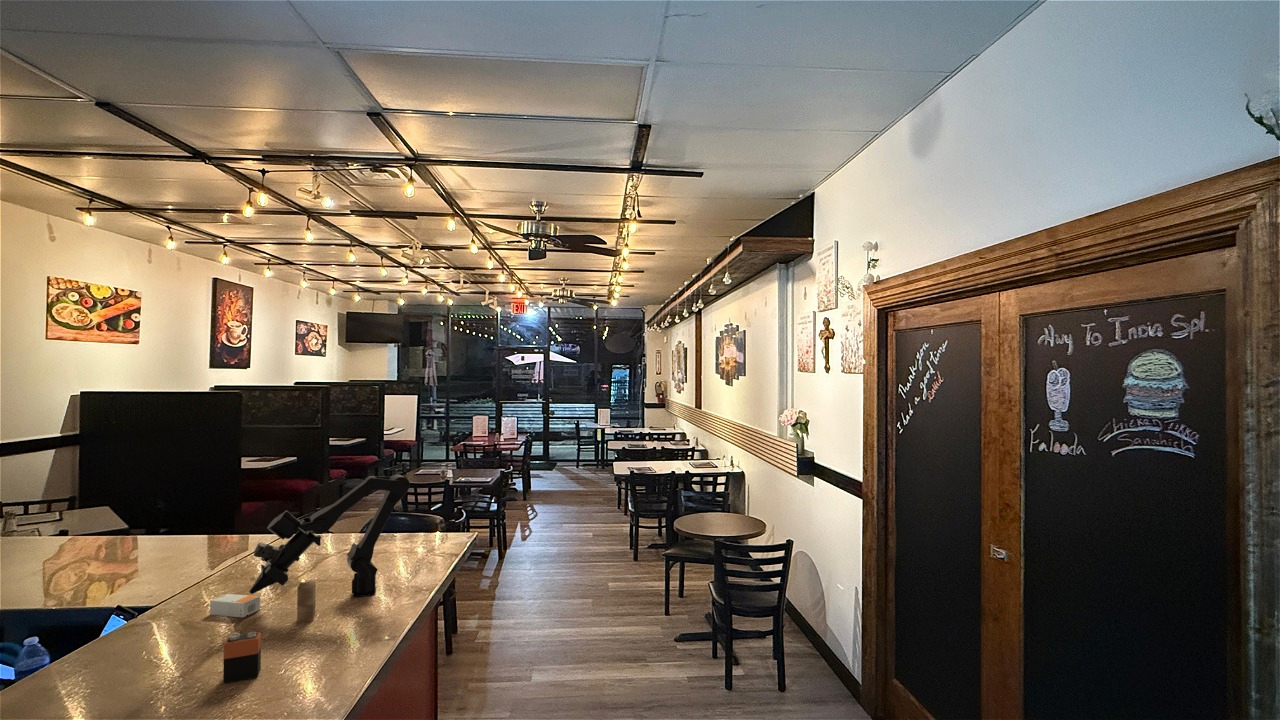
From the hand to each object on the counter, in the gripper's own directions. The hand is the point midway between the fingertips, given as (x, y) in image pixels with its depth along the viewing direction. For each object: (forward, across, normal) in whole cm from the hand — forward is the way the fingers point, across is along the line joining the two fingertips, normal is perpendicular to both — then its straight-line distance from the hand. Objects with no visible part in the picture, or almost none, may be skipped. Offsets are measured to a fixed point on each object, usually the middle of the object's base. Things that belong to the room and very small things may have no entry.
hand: (250, 592), depth 175 cm
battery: (+7, +41, +3) cm, 42 cm away
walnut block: (-4, +12, +14) cm, 19 cm away
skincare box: (+3, -2, +4) cm, 5 cm away
